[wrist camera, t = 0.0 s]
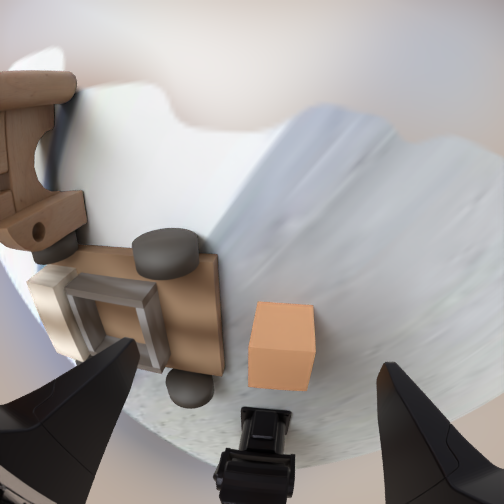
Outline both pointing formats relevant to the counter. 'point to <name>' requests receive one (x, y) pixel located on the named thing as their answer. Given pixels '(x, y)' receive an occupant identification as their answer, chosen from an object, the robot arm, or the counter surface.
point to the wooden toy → (32, 161)
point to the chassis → (137, 306)
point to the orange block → (281, 346)
